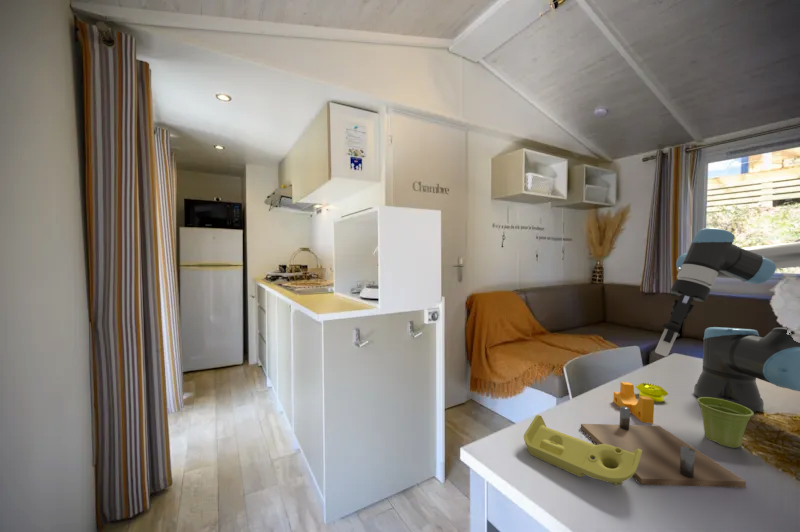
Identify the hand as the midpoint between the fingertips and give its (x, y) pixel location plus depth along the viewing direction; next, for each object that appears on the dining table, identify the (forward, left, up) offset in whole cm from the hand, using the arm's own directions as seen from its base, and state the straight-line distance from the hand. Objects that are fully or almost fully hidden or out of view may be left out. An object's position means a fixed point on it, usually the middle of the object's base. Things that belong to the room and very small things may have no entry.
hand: (660, 354), depth 87 cm
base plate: (+16, +17, -17) cm, 29 cm away
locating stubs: (+16, +17, -16) cm, 28 cm away
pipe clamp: (+5, -3, -18) cm, 19 cm away
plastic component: (+35, +22, -18) cm, 45 cm away
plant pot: (-6, +11, -18) cm, 22 cm away
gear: (-8, -13, -18) cm, 24 cm away
